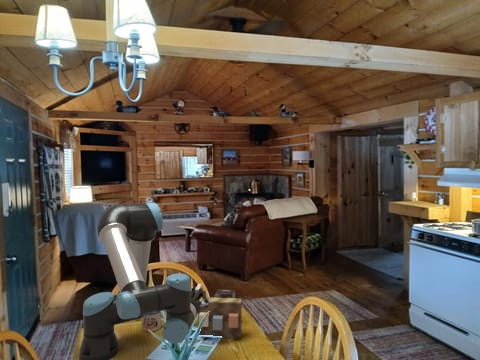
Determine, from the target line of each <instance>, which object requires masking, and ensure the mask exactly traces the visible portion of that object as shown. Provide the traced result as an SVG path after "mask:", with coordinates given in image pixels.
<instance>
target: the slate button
mask: <svg viewBox="0 0 480 360" xmlns="http://www.w3.org/2000/svg"><path fill="white" fill-rule="evenodd" d="M222 329H223V315H217V316H213V330H222Z"/></svg>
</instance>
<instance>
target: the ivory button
mask: <svg viewBox="0 0 480 360" xmlns="http://www.w3.org/2000/svg"><path fill="white" fill-rule="evenodd" d="M204 314H205V312H200V314H199V324H200V322H201V320H202V318H203V316H204ZM208 326H209V314H208V316H207V317H206V319H205V321H204V323H203V325H202V327H208Z"/></svg>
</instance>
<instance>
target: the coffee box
mask: <svg viewBox="0 0 480 360" xmlns="http://www.w3.org/2000/svg"><path fill="white" fill-rule="evenodd" d="M214 298H237V297H236V289H226V288H225V289H224V288H223V289H222V288H218V289H217V290H216V292H215V293H214Z"/></svg>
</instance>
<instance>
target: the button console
mask: <svg viewBox="0 0 480 360" xmlns="http://www.w3.org/2000/svg"><path fill="white" fill-rule="evenodd" d="M206 298H207V299H208V307H205V306H202V308H200V309H199V311H198V314H197V319H198V321H197V322H198V323H197V325H198V326H199V314H200V312H205V313H206V312H208V311H210V312H209V326H208V327H202V328H201V331H200V334H199V335H213V336H222V337H223V338H222V339H224V338H227V339H228V340H241V339H242V334H243V329H242V326H243V325H242V324H243V323H242V320H243V319H242V298H237V297H236V298H215V297H207V296H206ZM199 301H200V302H201V303H202V301H203V299H202V297H201V299H200V300H199ZM229 313H233V314H238V328H229ZM217 315H223V329H222V330H213V316H217ZM227 339H226V340H227Z"/></svg>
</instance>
